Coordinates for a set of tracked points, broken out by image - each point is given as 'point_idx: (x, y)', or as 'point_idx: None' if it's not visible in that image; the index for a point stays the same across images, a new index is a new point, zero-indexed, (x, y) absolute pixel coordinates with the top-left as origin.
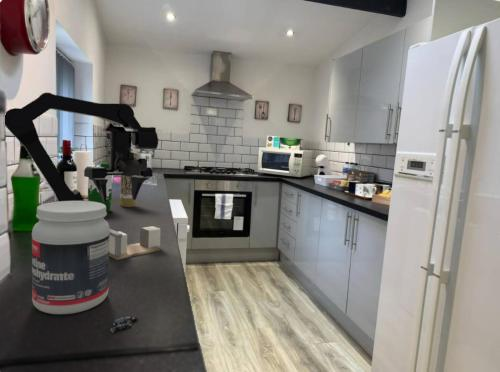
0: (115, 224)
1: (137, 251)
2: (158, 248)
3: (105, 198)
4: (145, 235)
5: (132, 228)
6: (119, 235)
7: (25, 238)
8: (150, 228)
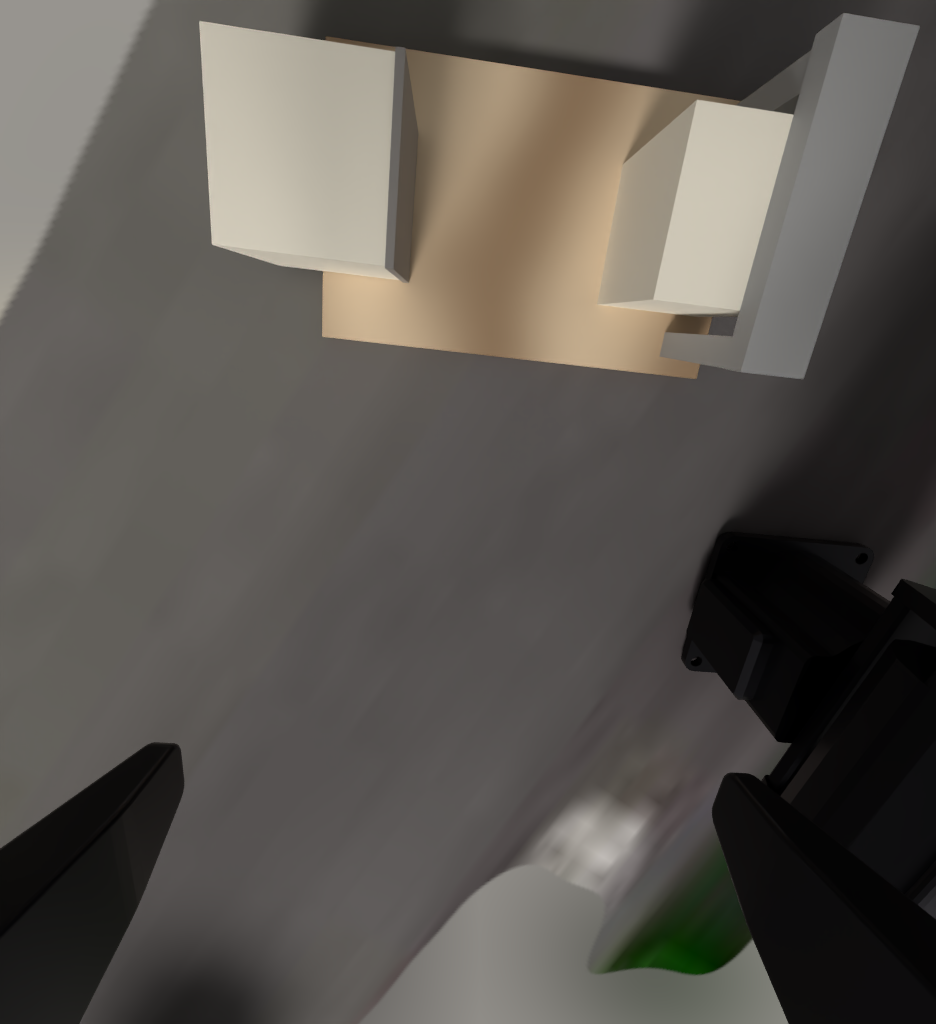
0: (233, 861)
1: (539, 124)
2: None
3: (795, 825)
4: (407, 147)
5: (180, 735)
6: (868, 29)
7: None
8: (303, 155)
